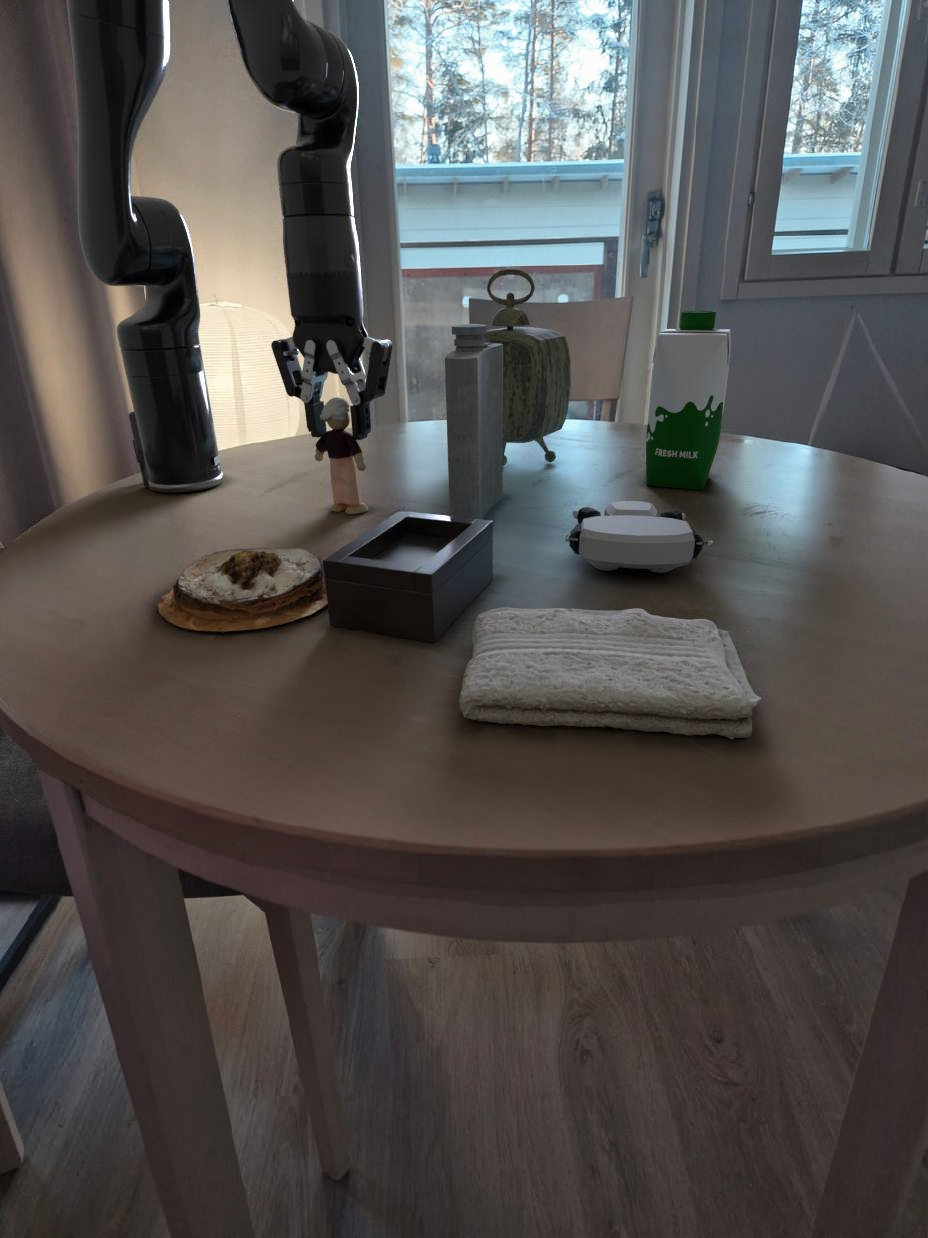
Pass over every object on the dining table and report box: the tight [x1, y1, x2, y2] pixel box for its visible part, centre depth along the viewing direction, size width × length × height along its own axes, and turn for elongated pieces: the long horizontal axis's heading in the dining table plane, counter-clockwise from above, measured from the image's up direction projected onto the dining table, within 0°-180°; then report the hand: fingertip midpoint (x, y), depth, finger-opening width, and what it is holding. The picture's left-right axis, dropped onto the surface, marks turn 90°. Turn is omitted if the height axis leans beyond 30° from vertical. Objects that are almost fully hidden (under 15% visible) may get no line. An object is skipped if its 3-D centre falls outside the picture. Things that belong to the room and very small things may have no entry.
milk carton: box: [645, 310, 732, 491], centre depth 88 cm, size 9×9×20 cm
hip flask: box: [444, 323, 504, 520], centre depth 77 cm, size 16×4×20 cm, turn 167°
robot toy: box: [565, 500, 714, 574], centre depth 67 cm, size 12×4×15 cm
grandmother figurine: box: [314, 396, 369, 515], centre depth 81 cm, size 8×4×13 cm, turn 65°
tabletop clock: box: [483, 268, 572, 467], centre depth 97 cm, size 14×9×25 cm, turn 58°
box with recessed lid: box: [322, 510, 494, 644], centre depth 59 cm, size 9×13×6 cm
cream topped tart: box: [157, 546, 328, 632], centre depth 61 cm, size 15×15×4 cm
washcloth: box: [458, 606, 763, 740], centre depth 47 cm, size 12×18×3 cm, turn 84°
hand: (339, 436), depth 80 cm, fingers closed on grandmother figurine, 4 cm apart
